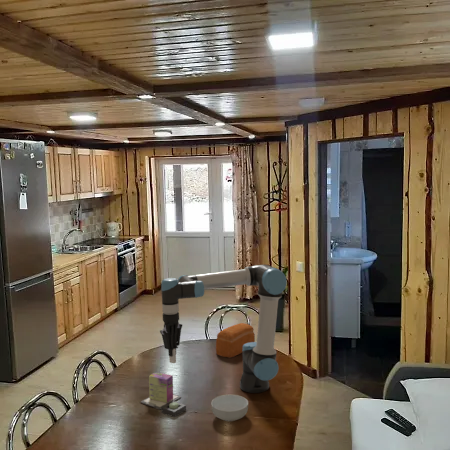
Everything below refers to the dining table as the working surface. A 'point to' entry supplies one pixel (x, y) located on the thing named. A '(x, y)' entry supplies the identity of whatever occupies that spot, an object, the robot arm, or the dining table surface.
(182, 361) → the dining table surface
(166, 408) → the button housing
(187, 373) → the dining table surface
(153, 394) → the box
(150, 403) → the clipboard
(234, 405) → the cereal bowl
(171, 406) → the button
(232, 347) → the bread
